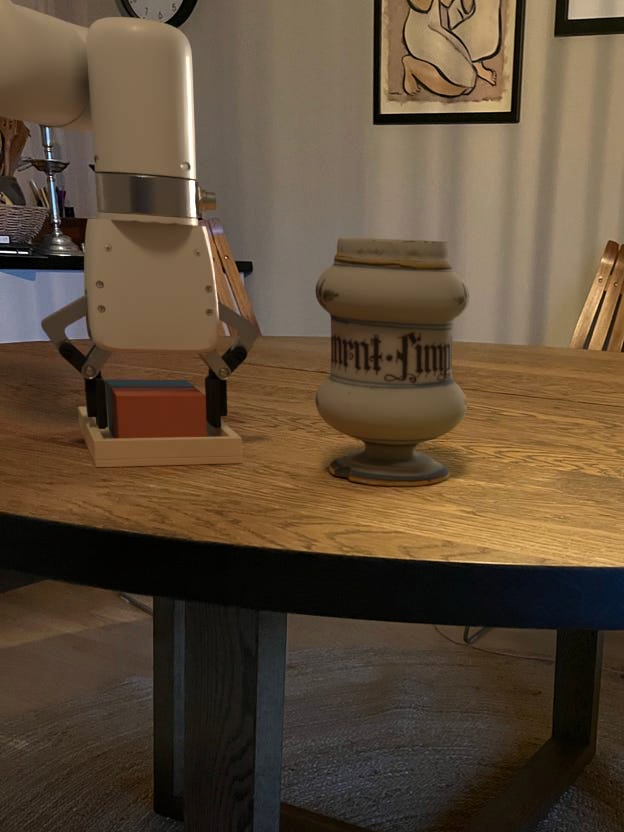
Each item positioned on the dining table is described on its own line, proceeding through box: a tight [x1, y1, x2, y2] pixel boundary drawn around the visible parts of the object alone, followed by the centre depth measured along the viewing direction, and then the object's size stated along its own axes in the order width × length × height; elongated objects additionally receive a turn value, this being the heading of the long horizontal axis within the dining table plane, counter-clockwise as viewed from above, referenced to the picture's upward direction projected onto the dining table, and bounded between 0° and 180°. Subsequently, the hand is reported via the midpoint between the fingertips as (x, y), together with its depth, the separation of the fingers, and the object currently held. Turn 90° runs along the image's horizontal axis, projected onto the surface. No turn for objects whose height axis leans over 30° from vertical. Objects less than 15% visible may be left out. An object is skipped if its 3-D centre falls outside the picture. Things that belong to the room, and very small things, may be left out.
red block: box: [111, 387, 207, 439], centre depth 87 cm, size 7×5×4 cm, turn 114°
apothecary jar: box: [315, 237, 470, 488], centre depth 81 cm, size 12×12×18 cm
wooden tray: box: [77, 405, 243, 468], centre depth 89 cm, size 17×11×2 cm
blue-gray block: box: [104, 378, 196, 438], centre depth 91 cm, size 7×5×4 cm, turn 114°
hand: (158, 425), depth 87 cm, fingers open, 8 cm apart
